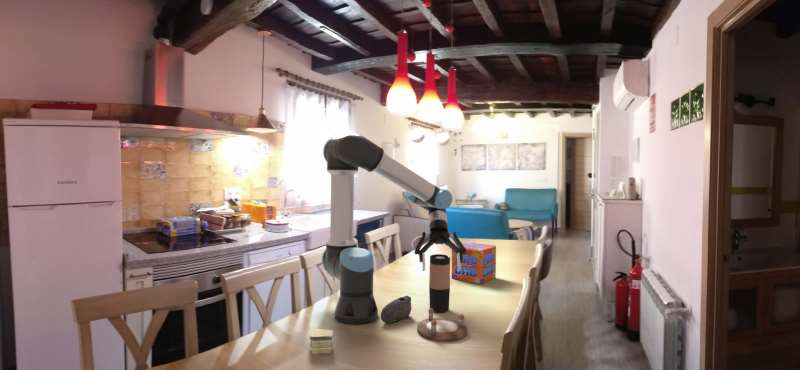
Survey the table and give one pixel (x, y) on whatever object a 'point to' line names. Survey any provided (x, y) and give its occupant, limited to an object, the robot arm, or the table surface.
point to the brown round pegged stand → (442, 328)
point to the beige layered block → (321, 341)
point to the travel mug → (439, 283)
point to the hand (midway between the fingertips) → (441, 269)
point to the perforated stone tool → (396, 309)
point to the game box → (475, 263)
